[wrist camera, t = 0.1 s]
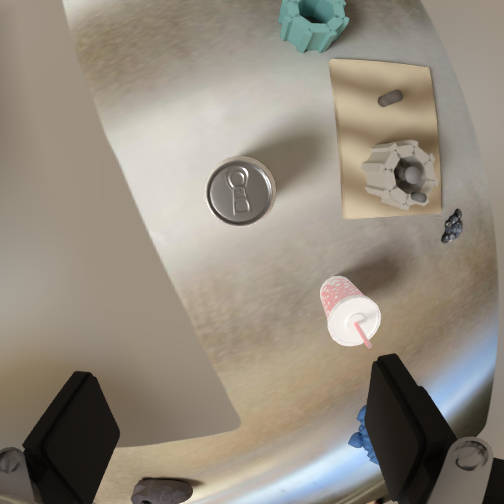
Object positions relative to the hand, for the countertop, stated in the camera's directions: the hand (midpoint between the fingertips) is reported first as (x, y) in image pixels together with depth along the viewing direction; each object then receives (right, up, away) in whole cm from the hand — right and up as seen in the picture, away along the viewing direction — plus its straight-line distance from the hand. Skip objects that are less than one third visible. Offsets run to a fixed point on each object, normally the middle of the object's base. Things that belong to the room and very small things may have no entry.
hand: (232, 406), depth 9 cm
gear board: (+18, +20, +27) cm, 38 cm away
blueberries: (+29, +9, +30) cm, 43 cm away
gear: (+17, +15, +27) cm, 35 cm away
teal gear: (+8, +33, +23) cm, 41 cm away
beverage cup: (+12, 0, +33) cm, 35 cm away
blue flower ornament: (+19, -23, +39) cm, 49 cm away
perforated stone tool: (-19, -46, +45) cm, 67 cm away
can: (0, +13, +29) cm, 32 cm away
